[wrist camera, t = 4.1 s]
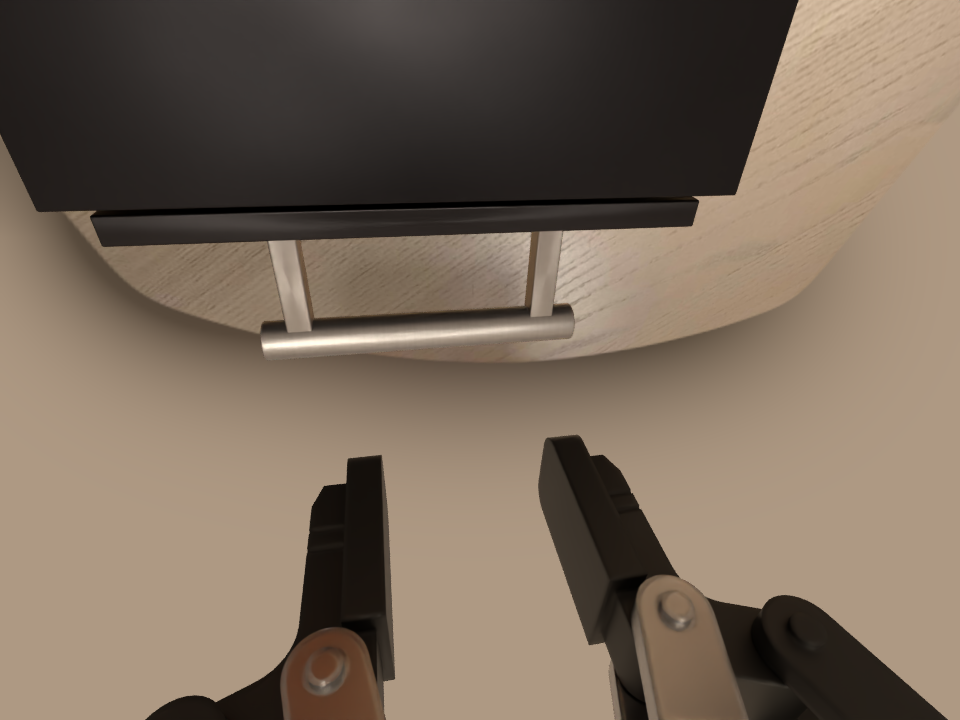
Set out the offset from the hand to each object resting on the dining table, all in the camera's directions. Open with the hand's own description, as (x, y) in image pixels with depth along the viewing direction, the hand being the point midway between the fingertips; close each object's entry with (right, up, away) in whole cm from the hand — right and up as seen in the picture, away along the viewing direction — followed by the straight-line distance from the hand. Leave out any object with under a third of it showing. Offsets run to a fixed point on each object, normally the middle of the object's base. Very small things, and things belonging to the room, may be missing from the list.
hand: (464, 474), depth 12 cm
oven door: (-4, +12, +17) cm, 21 cm away
